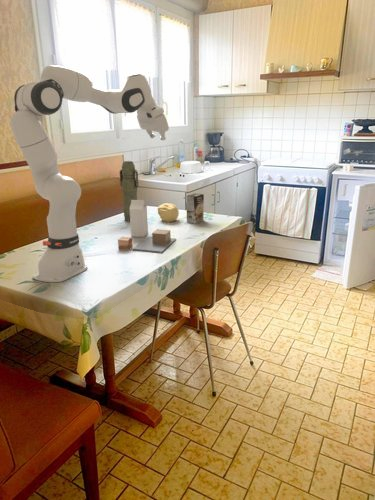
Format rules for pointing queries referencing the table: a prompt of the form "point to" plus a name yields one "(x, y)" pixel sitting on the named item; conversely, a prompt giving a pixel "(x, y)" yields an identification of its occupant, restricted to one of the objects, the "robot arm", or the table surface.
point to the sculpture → (168, 212)
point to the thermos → (128, 186)
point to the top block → (125, 243)
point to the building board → (152, 246)
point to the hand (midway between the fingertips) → (158, 138)
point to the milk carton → (138, 218)
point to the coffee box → (195, 208)
